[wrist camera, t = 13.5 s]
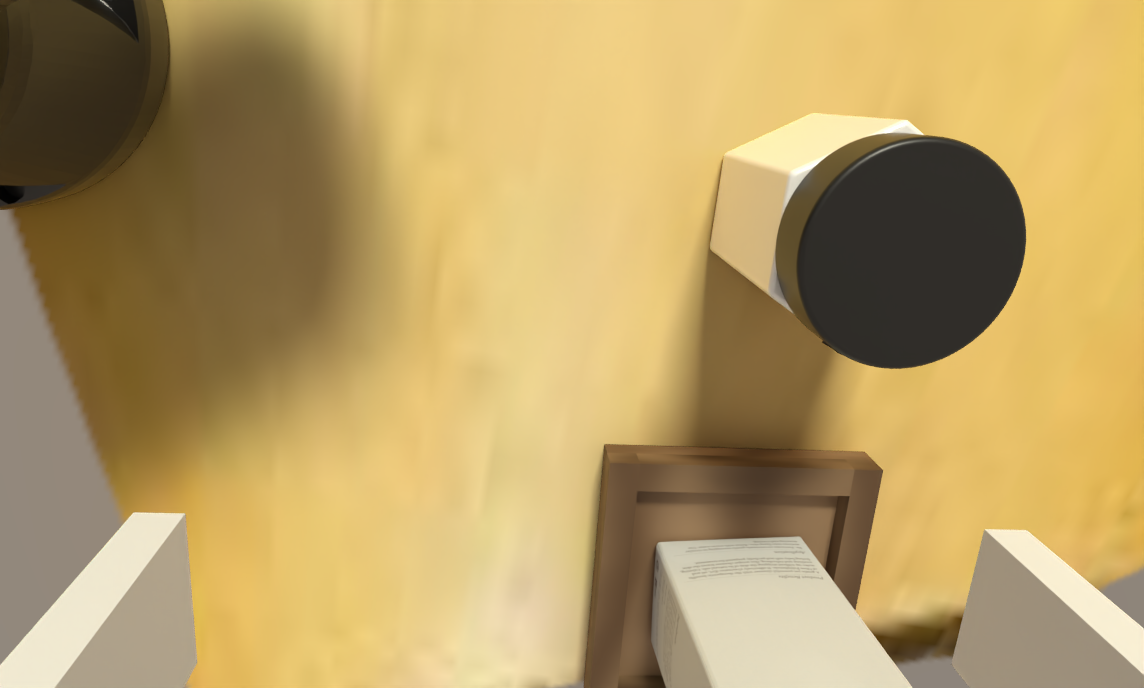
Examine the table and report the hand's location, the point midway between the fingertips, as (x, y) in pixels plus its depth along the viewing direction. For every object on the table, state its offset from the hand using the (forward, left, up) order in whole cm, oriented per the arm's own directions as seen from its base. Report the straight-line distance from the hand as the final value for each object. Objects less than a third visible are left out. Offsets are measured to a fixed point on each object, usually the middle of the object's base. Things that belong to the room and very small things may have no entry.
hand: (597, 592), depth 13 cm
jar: (+9, +9, -27) cm, 30 cm away
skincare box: (+18, -9, -26) cm, 33 cm away
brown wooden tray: (+18, -9, -27) cm, 33 cm away
